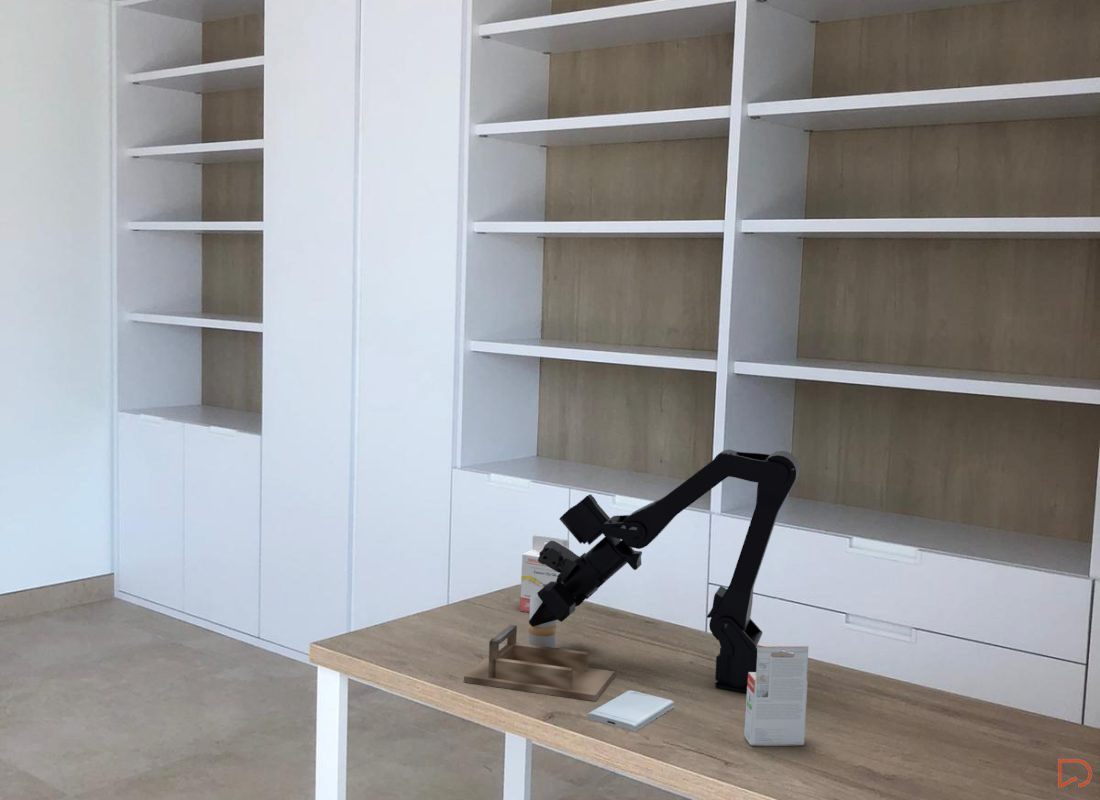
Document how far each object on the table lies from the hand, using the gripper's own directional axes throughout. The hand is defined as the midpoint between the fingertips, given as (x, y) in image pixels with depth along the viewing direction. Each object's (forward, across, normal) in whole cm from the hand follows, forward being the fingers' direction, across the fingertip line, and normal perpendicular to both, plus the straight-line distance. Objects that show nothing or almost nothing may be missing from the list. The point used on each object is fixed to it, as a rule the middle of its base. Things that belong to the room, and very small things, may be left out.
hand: (535, 620), depth 196 cm
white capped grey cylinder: (+4, 0, +6) cm, 7 cm away
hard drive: (-10, +19, +21) cm, 30 cm away
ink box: (-26, +22, +36) cm, 49 cm away
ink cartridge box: (+10, -28, 0) cm, 30 cm away
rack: (+2, +10, +8) cm, 13 cm away
